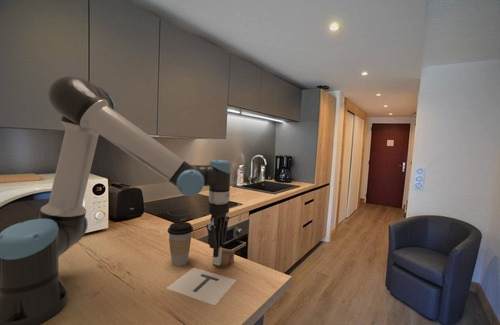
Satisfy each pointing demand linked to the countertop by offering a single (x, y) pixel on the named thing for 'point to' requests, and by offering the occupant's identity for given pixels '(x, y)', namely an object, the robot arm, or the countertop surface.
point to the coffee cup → (180, 242)
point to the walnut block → (226, 258)
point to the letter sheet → (202, 285)
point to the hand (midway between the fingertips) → (217, 263)
